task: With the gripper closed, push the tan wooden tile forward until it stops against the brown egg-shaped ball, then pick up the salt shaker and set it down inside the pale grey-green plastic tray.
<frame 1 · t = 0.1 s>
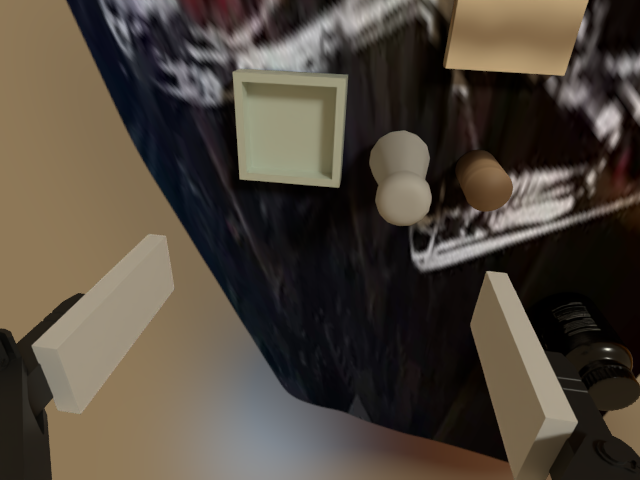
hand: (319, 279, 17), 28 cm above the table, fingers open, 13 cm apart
tray: (293, 126, 42), on the table
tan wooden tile: (507, 25, 36), on the table
supplement bottle: (562, 312, 49), on the table
salt shaker: (398, 152, 42), on the table
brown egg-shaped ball: (475, 168, 42), on the table
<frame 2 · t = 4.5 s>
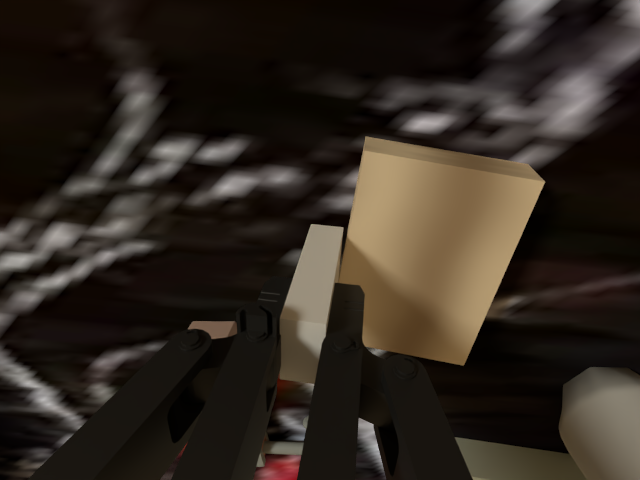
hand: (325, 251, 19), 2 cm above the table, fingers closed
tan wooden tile: (416, 245, 20), on the table, touching gripper
salt shaker: (599, 388, 23), on the table
clamp: (250, 400, 28), on the table
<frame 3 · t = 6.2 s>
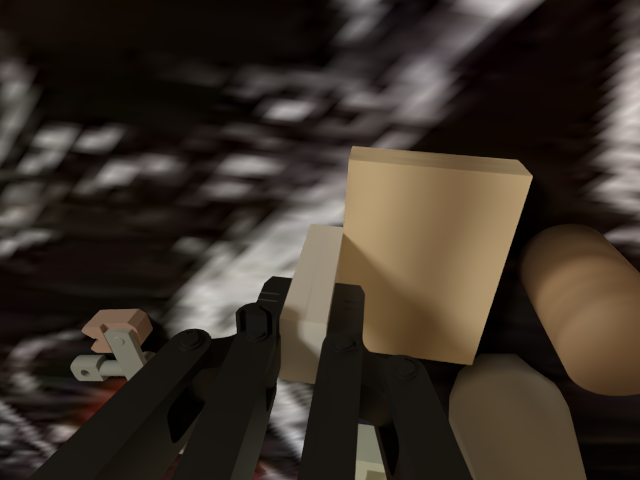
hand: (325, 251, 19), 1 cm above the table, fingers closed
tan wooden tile: (414, 247, 20), on the table
salt shaker: (494, 375, 23), on the table
clamp: (171, 388, 28), on the table
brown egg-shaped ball: (561, 261, 19), on the table
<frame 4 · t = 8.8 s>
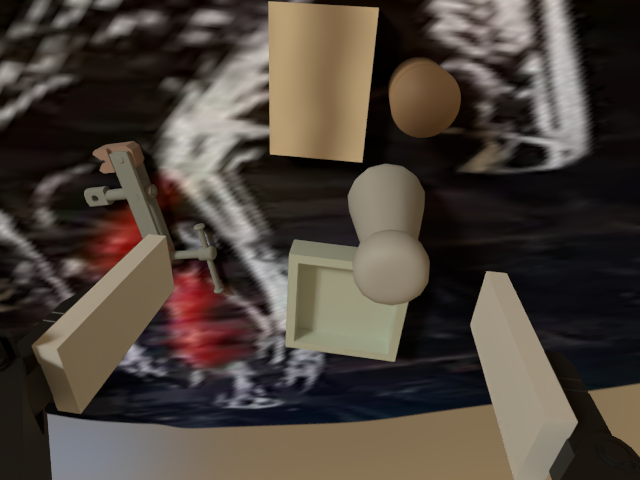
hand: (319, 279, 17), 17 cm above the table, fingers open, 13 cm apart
tray: (346, 294, 39), on the table
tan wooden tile: (323, 83, 30), on the table
salt shaker: (385, 188, 33), on the table
clamp: (159, 219, 38), on the table
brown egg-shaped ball: (416, 87, 29), on the table
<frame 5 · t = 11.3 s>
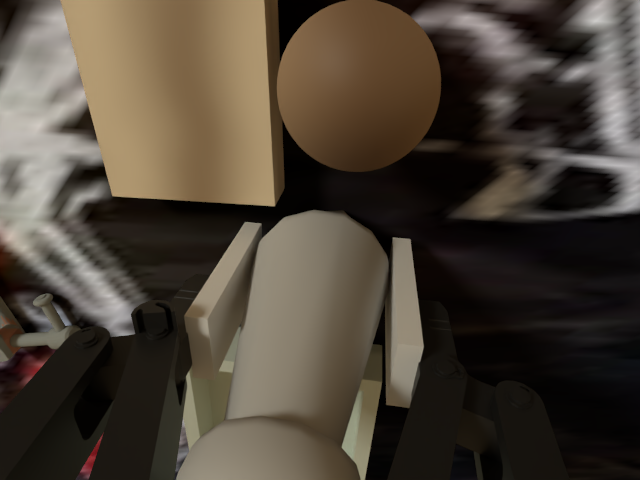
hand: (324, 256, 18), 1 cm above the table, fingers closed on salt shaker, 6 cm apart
tray: (284, 398, 25), on the table
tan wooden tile: (197, 63, 16), on the table
salt shaker: (327, 245, 19), on the table, touching gripper
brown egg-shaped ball: (365, 65, 15), on the table
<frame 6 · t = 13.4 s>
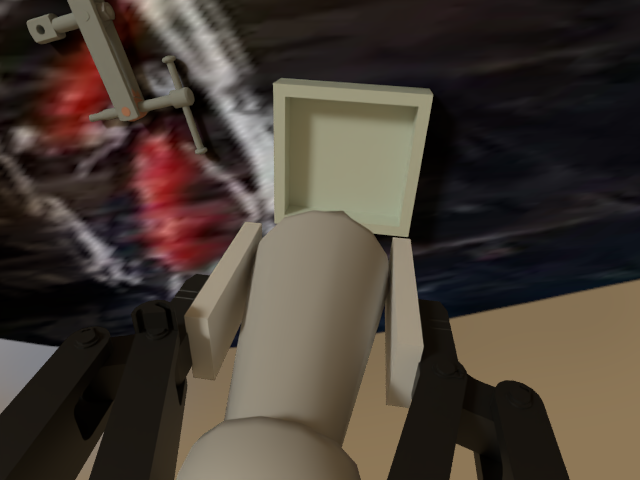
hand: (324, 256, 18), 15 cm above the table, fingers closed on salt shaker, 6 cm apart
tray: (348, 155, 32), on the table
salt shaker: (327, 245, 19), point 14 cm above the table, touching gripper
clamp: (123, 63, 31), on the table
when the fingers open (3 cm above the table, at t = 15.8 s): salt shaker drops 1 cm, resting on tray.
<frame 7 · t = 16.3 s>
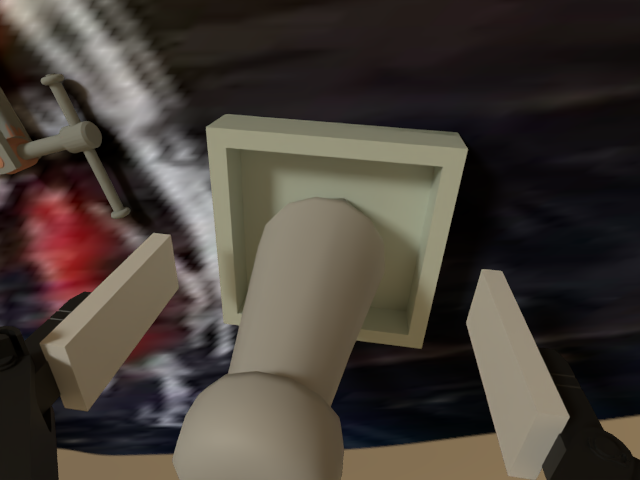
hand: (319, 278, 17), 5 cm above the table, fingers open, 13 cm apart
tray: (331, 226, 21), on the table
salt shaker: (330, 230, 21), point 1 cm above the table, touching tray
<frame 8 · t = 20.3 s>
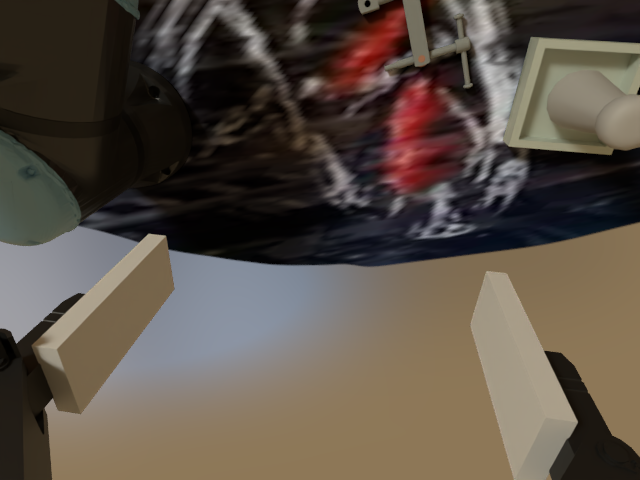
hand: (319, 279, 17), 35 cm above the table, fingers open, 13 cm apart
tray: (567, 95, 43), on the table
salt shaker: (568, 95, 43), resting on tray
clamp: (413, 25, 43), on the table
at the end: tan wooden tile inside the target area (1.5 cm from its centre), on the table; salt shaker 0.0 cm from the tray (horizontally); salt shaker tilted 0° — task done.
